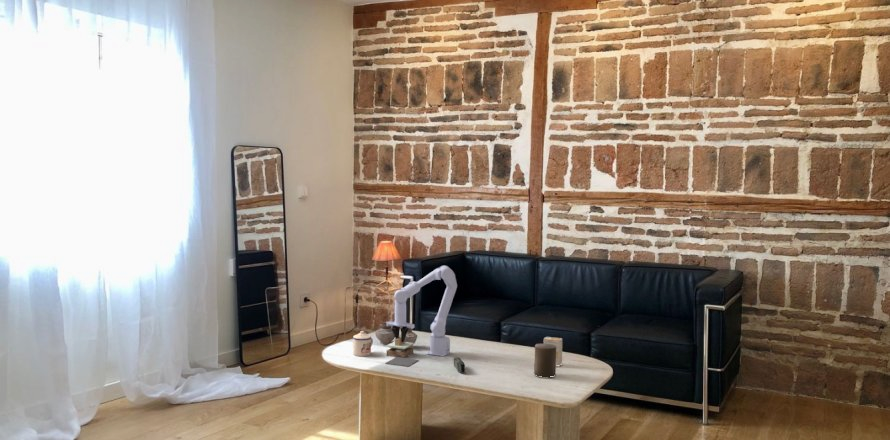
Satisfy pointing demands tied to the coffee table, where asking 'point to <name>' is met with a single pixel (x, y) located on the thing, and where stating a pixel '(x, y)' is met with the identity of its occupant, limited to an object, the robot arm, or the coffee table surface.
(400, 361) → the mat
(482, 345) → the coffee table surface
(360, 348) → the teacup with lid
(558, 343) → the supplement box
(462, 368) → the dark green stone
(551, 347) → the pillar candle
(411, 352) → the tea box
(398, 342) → the lid
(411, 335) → the pottery
